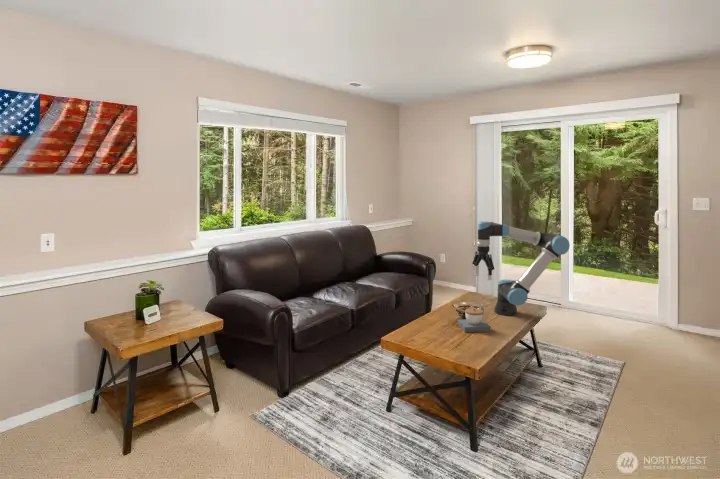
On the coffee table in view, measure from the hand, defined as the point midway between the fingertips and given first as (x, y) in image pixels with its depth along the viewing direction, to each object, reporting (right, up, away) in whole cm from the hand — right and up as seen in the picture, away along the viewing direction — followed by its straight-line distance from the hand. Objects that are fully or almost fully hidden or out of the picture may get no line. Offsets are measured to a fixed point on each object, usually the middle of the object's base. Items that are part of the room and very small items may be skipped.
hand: (482, 277), depth 271 cm
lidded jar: (-9, -27, -12) cm, 31 cm away
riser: (-9, -30, -12) cm, 34 cm away
